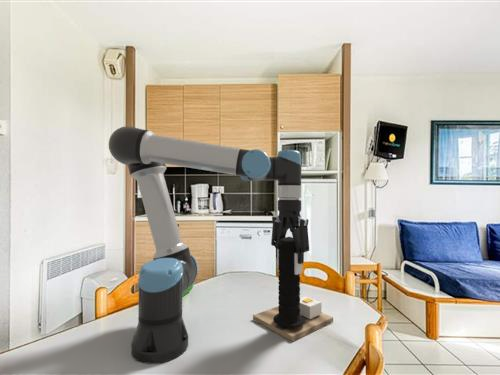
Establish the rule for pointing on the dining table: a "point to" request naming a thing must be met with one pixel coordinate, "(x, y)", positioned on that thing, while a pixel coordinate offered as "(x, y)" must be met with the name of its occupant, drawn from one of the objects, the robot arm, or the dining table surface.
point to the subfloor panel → (295, 332)
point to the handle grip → (288, 287)
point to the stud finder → (309, 307)
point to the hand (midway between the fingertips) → (289, 270)
